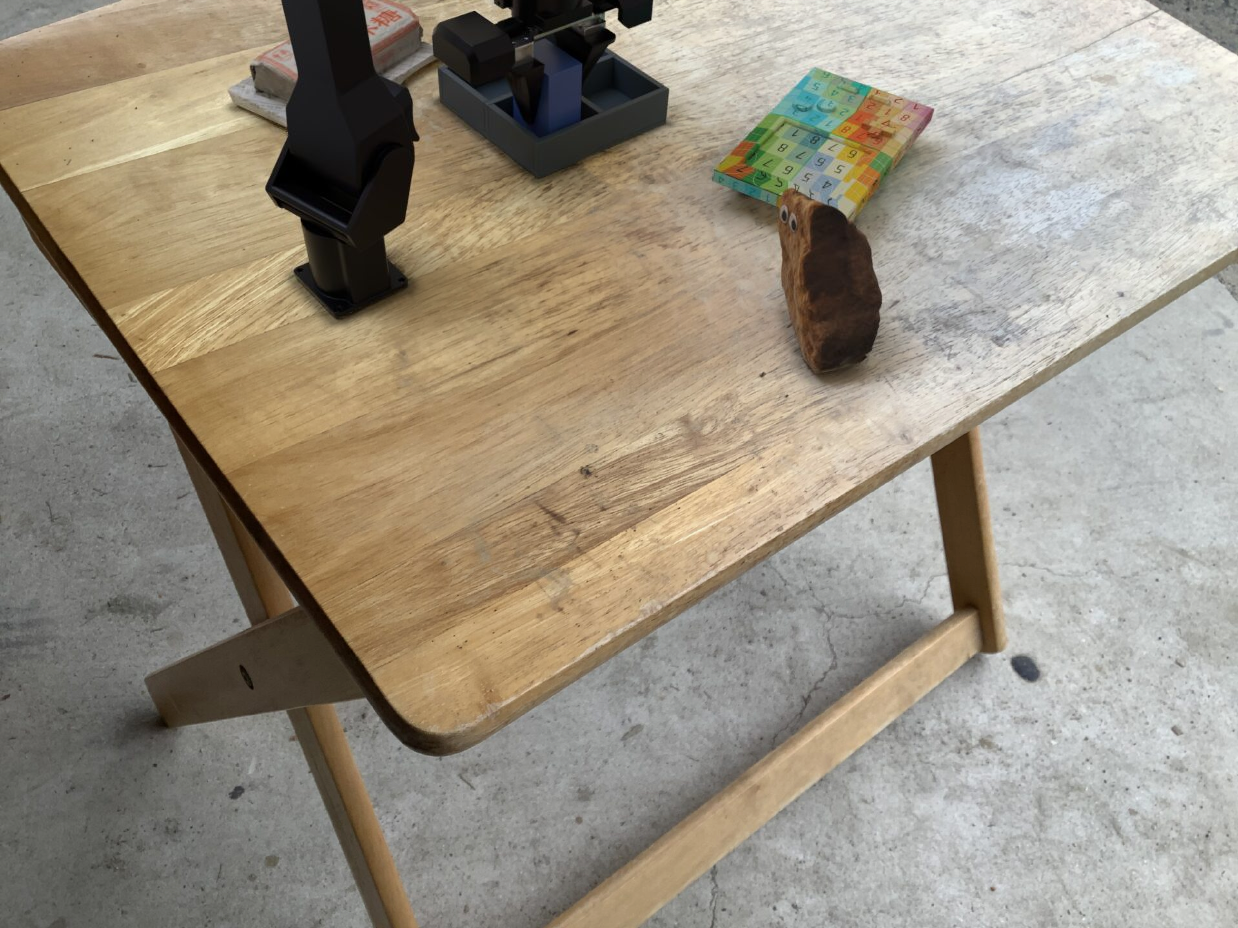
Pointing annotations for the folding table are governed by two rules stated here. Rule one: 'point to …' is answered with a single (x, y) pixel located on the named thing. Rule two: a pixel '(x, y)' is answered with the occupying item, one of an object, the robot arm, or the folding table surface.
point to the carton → (555, 91)
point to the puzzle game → (825, 143)
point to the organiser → (609, 116)
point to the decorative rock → (827, 283)
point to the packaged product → (391, 51)
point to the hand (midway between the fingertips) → (546, 115)
